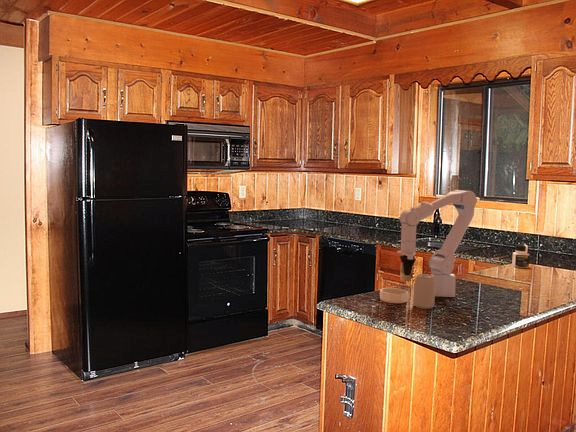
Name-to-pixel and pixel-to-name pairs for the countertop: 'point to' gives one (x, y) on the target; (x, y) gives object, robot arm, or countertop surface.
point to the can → (424, 291)
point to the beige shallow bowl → (393, 295)
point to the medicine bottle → (521, 256)
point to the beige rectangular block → (402, 275)
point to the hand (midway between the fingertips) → (406, 274)
